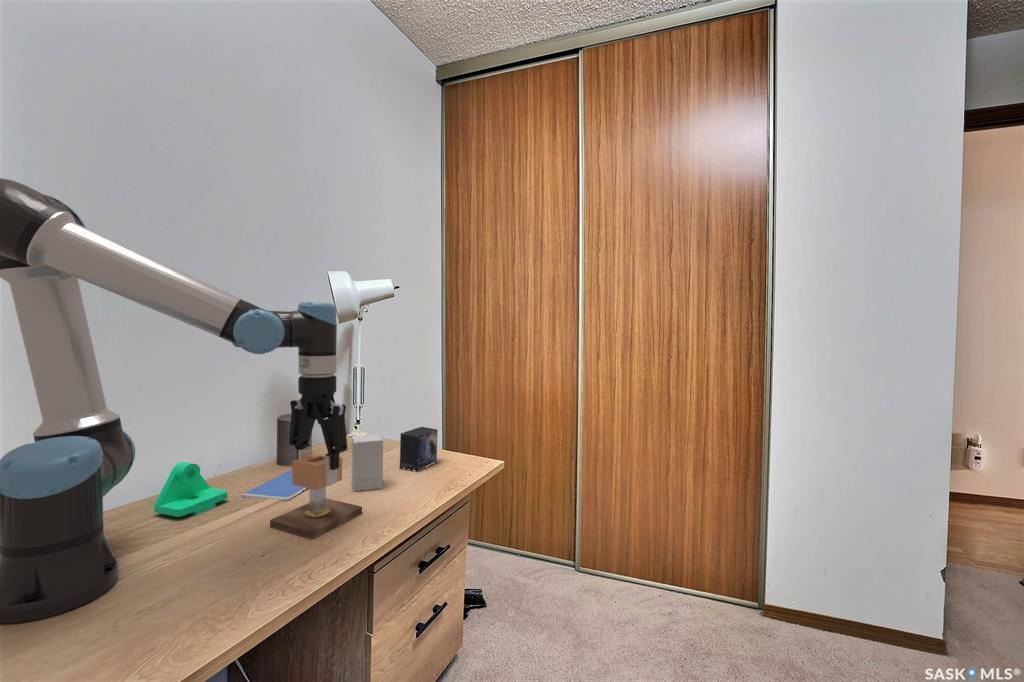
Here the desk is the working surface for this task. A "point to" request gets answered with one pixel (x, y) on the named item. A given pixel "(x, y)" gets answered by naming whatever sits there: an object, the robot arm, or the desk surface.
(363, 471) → the supplement box
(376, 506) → the desk surface
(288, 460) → the pillar candle
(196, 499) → the camera mount
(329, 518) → the base
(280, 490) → the blue felt tray
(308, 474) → the tan square frame
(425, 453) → the small box
